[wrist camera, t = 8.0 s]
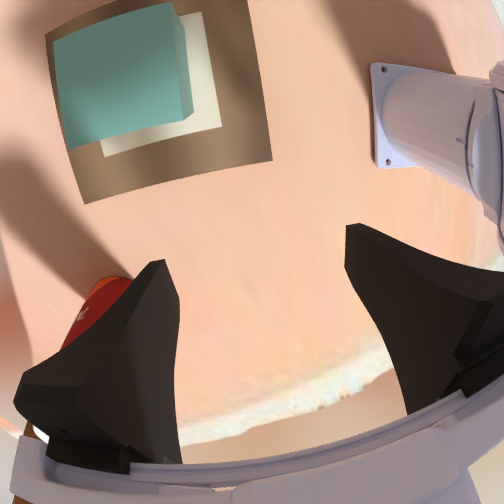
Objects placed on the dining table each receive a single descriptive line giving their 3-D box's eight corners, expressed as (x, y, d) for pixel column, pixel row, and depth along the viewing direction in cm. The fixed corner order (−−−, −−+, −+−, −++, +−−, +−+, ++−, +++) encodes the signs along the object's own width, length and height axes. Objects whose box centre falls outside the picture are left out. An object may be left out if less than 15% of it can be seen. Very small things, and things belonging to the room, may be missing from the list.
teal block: (184, 28, 11) (170, 2, 7) (194, 112, 14) (183, 120, 9) (97, 51, 11) (53, 41, 7) (108, 131, 13) (68, 150, 9)
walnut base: (237, -11, 12) (241, -29, 9) (264, 150, 18) (273, 161, 16) (66, 39, 12) (43, 34, 9) (100, 188, 18) (83, 205, 15)
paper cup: (70, 267, 21) (2, 410, 9) (152, 262, 21) (115, 435, 9) (99, 332, 25) (67, 460, 13) (170, 331, 25) (161, 475, 14)
